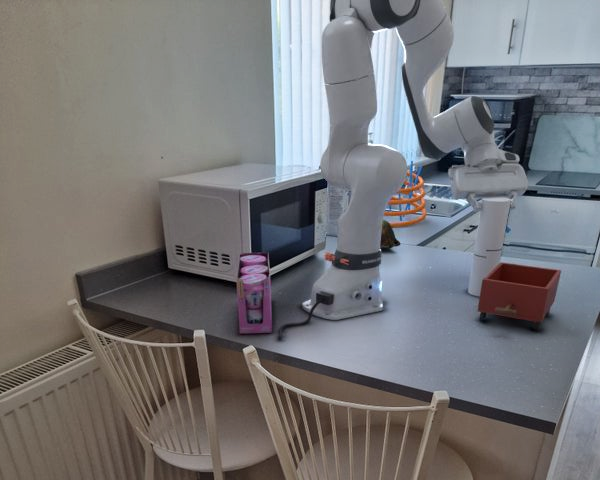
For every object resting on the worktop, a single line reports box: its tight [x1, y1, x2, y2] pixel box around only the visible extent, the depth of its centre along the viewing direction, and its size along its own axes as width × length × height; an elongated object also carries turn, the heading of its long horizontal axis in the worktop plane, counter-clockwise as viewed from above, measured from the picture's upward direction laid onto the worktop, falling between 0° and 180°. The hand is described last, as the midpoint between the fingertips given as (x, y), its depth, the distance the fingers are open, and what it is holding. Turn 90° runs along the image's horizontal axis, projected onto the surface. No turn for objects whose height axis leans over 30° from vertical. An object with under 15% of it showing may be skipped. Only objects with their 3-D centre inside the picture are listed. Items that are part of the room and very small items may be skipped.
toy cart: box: [477, 261, 562, 332], centre depth 129 cm, size 22×15×11 cm, turn 148°
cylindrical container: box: [467, 197, 511, 297], centre depth 145 cm, size 7×7×25 cm
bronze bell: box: [380, 218, 402, 251], centre depth 190 cm, size 17×11×18 cm
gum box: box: [236, 251, 273, 334], centre depth 133 cm, size 24×8×14 cm, turn 3°
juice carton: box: [318, 165, 350, 237], centre depth 209 cm, size 9×10×27 cm
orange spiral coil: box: [348, 160, 428, 228], centre depth 232 cm, size 34×35×24 cm
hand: (495, 209), depth 139 cm, fingers open, 8 cm apart
